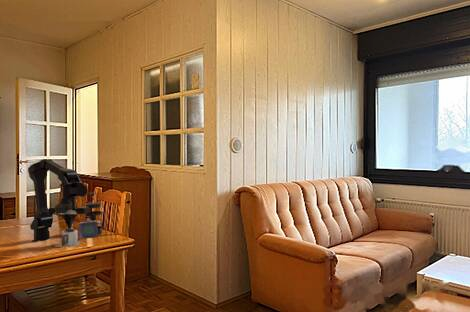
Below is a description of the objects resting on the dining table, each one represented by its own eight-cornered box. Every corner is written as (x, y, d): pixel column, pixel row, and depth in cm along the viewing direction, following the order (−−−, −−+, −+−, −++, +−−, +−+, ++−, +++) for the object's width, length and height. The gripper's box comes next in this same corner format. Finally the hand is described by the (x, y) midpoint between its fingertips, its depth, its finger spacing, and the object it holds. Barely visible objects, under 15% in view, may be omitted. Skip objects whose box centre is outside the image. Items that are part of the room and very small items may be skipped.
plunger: (63, 241, 172) (63, 228, 172) (68, 239, 176) (67, 227, 176) (71, 241, 172) (70, 228, 172) (75, 239, 176) (75, 227, 176)
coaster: (53, 247, 170) (53, 246, 170) (66, 242, 180) (65, 241, 180) (73, 248, 169) (73, 246, 169) (84, 242, 179) (84, 241, 179)
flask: (79, 240, 184) (79, 219, 184) (78, 239, 187) (78, 218, 187) (98, 238, 189) (97, 217, 189) (97, 237, 191) (96, 217, 191)
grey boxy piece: (55, 246, 169) (55, 233, 169) (67, 242, 178) (66, 229, 178) (69, 247, 168) (69, 233, 168) (80, 242, 177) (79, 229, 177)
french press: (83, 236, 193) (83, 193, 193) (82, 233, 202) (81, 192, 201) (106, 233, 199) (106, 192, 199) (104, 230, 207) (103, 191, 207)
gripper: (40, 198, 167) (40, 231, 167) (77, 197, 165) (78, 231, 165) (54, 195, 178) (55, 226, 178) (90, 195, 176) (90, 226, 176)
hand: (69, 227), depth 174 cm, fingers closed, pressing on plunger
